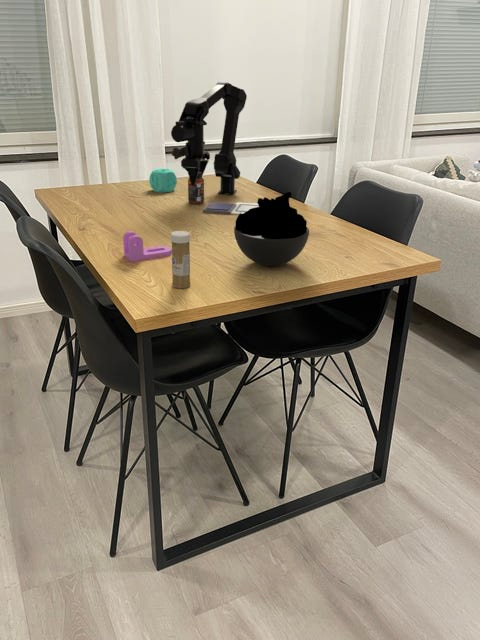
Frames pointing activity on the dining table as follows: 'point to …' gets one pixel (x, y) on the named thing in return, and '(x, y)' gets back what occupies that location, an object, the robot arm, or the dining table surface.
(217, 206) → the ink pad
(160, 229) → the dining table surface
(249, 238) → the coal bowl
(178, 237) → the sprinkles bottle
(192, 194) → the supplement bottle
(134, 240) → the bracket
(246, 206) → the form board
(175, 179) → the decorative dice
